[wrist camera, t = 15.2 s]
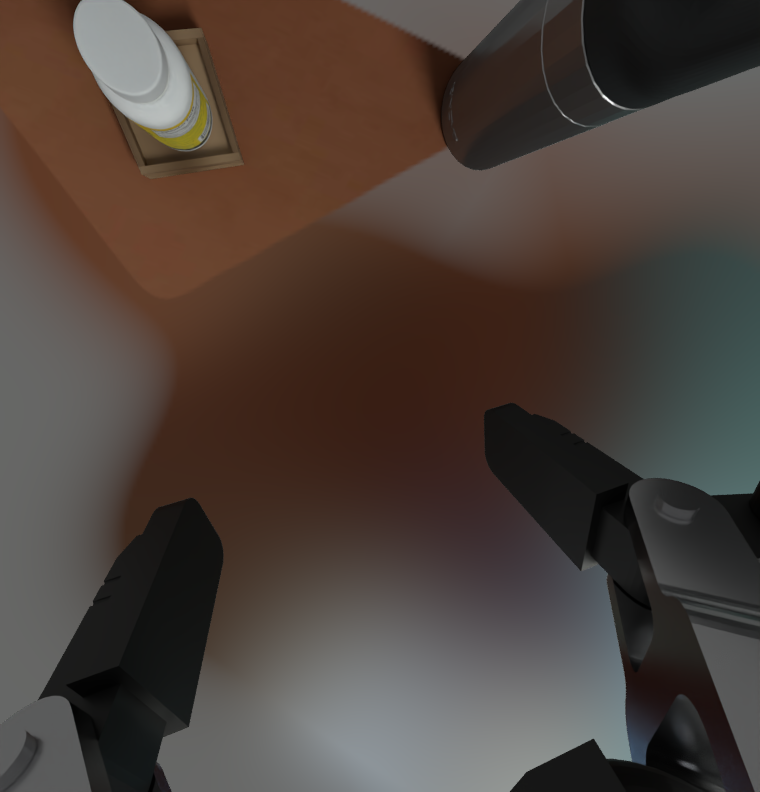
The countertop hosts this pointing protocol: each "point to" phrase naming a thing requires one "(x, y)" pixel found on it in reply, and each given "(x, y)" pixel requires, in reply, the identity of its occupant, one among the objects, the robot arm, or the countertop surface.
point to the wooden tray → (222, 140)
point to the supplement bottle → (143, 73)
